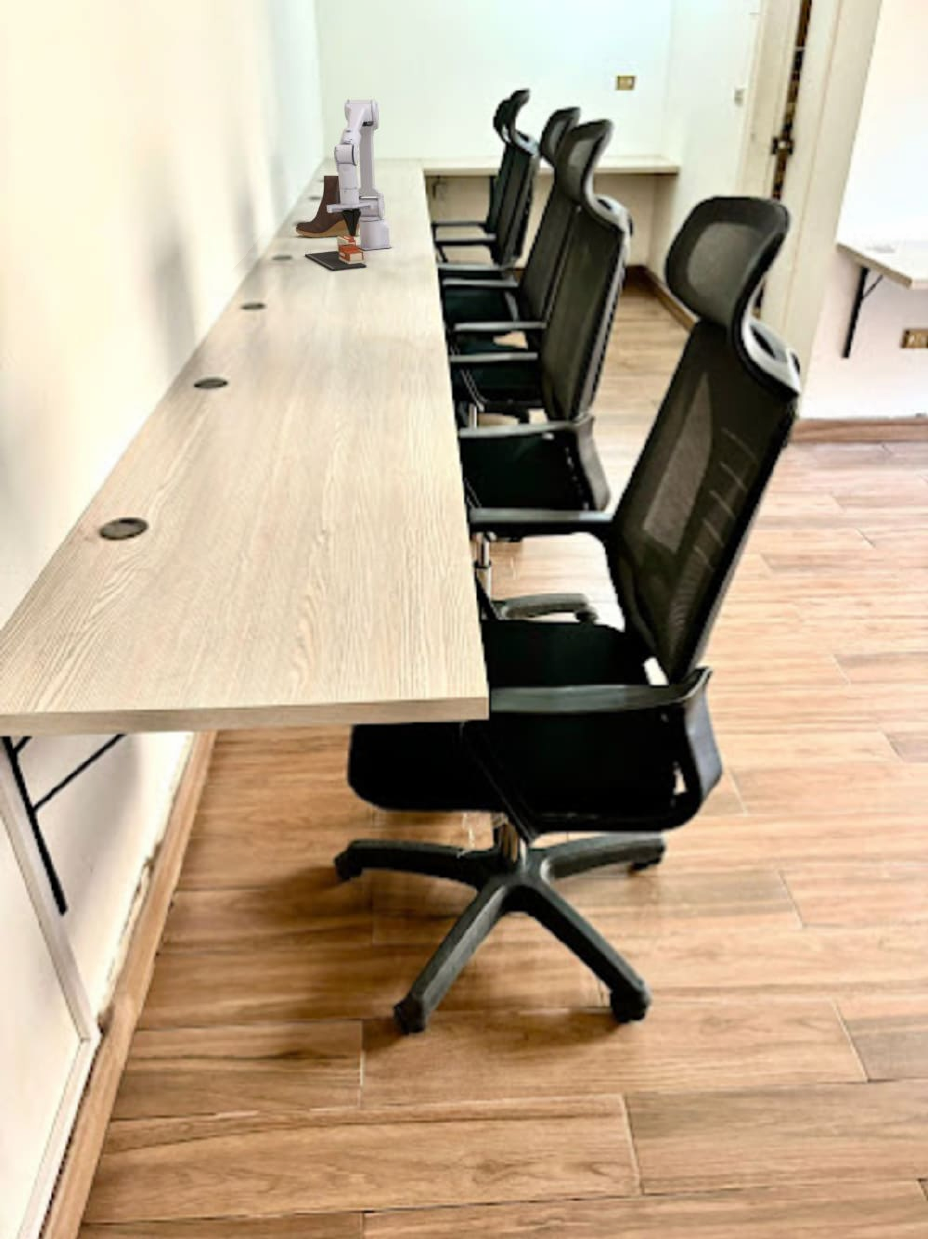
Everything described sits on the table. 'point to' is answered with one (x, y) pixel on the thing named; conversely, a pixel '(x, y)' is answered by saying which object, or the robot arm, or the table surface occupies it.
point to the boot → (327, 214)
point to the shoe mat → (332, 261)
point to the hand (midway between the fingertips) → (352, 235)
